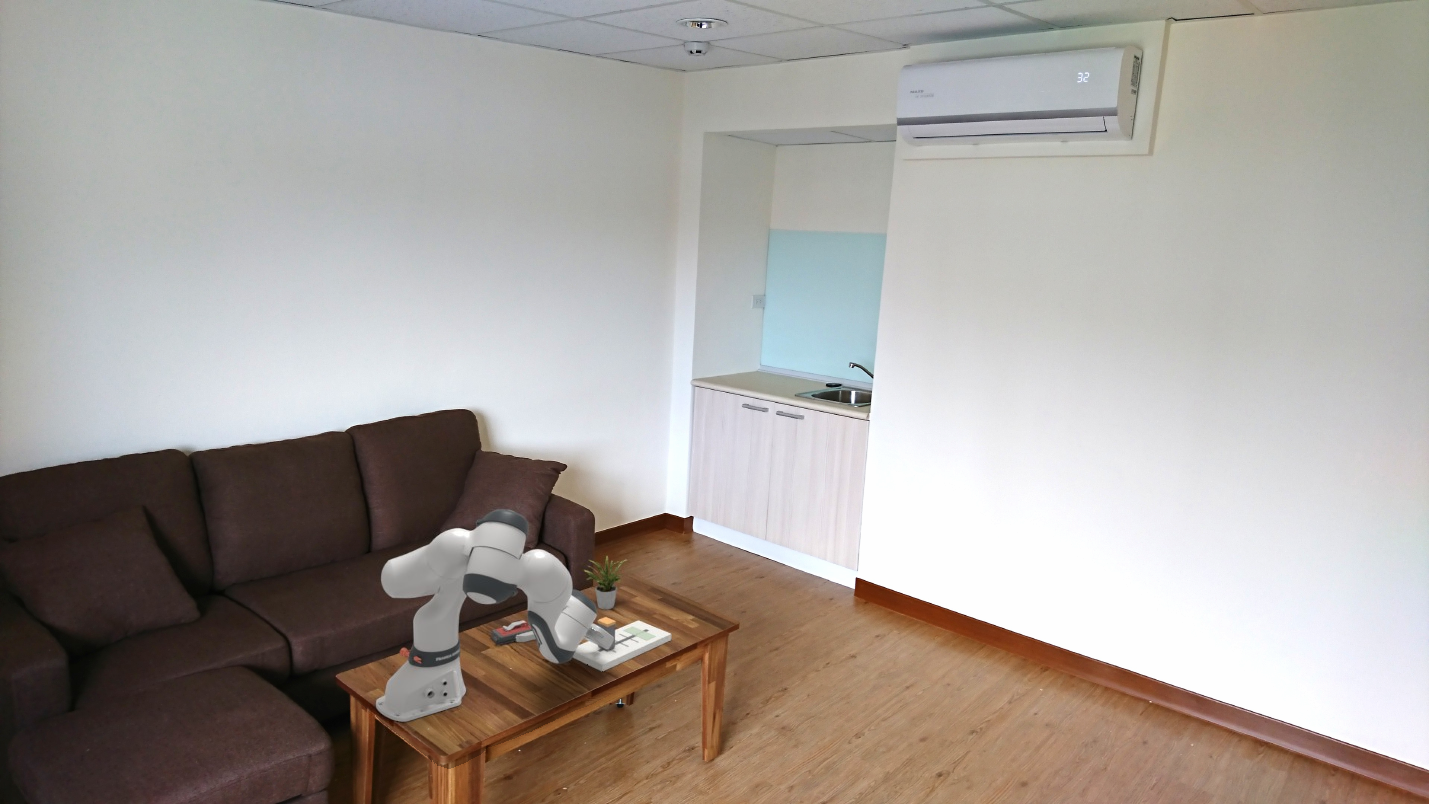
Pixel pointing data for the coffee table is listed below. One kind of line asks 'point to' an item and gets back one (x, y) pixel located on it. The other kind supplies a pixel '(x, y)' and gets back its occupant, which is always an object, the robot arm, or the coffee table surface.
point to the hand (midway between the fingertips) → (597, 641)
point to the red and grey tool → (513, 633)
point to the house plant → (605, 584)
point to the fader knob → (608, 629)
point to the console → (622, 646)
